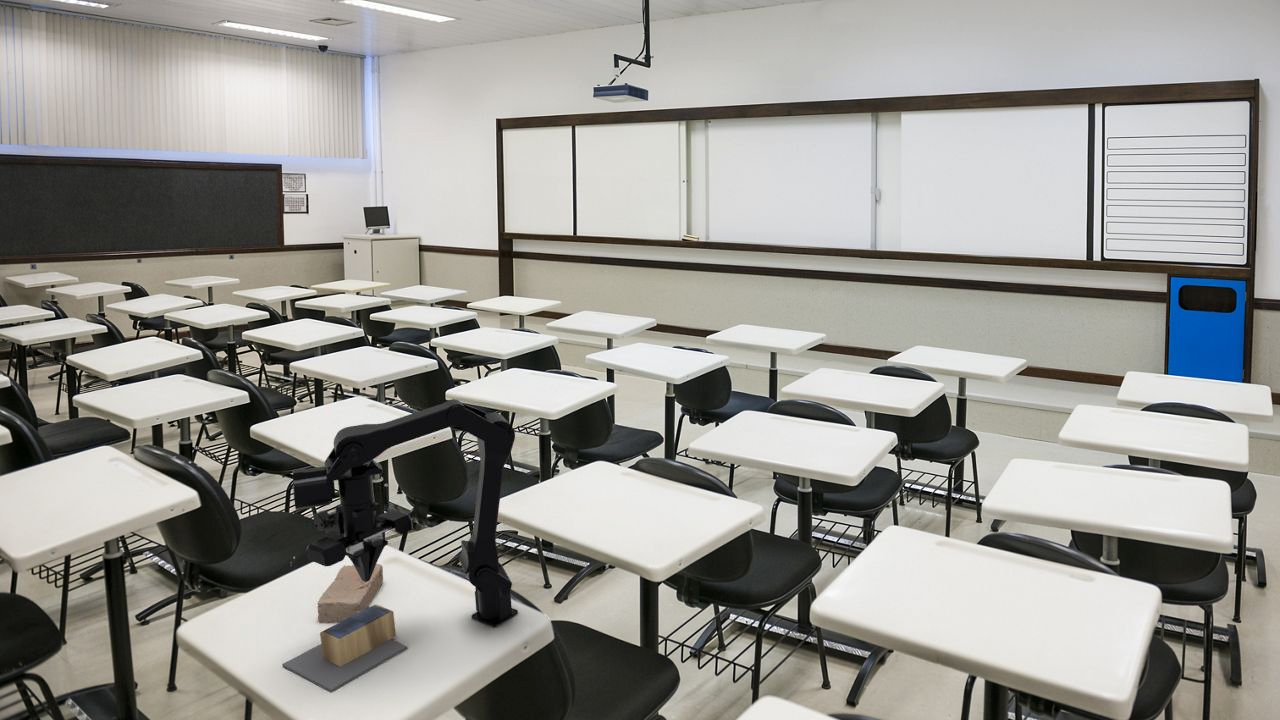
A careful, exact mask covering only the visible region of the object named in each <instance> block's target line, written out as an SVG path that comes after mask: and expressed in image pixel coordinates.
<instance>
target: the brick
mask: <svg viewBox="0 0 1280 720" xmlns="http://www.w3.org/2000/svg"><path fill="white" fill-rule="evenodd" d="M383 568H384V567H383V565H382V564H379V563H376V566H375V568H374V571H373V573H372V576H371V578H370V580H369V581H367V582H364V581H362V579H361V577H360V575H359V574H358V572H357V570H356V568H355V566H354V564H351V565H343V566H342V567H341V568H339V571H338V572H337V574H336V577H335V578H334V581H332V582H331V583H330V585H329V586H328V587H327V588H326V590H325V591H324V592H323V593H322V595H321V596H320V598H319V600H318V601H317V614H318V615H317V620H318V623H325V624H330V623H340V622H342V621H344V620H345V619H347V618H349V617H351V616H353V615H355V614H357V613H359V612H361V611H363V610H365V609H367V608H369V607H370V604H371V603H372V601H373V600H374V598H375V596H376V595H377V593H378V592H379V590H380V588H381V586H382V584H383V582H384V574H383V573H384V570H383Z"/></svg>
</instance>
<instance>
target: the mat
mask: <svg viewBox="0 0 1280 720" xmlns="http://www.w3.org/2000/svg"><path fill="white" fill-rule="evenodd" d="M407 649H408V646H407V645H406V644H404V643H401V642H399V641H397V640H394V639H393V638H392V639H390V640H388V641H386V642H385V643H383V644H381V645H379V646H377V647H376V648H374V649H372V650H370V651H368V652H367V653H365V654H363V655H361V656H359V657H358V658H356V659H354V660H352V661H350V662H349V663H347V664H345V665H343V666H341V667H340V666H338V665H336V664H334V663H332V662H330V661H328V660H326V659H324V658H323V653H322V645H321V643H320V644H317V645H316V646H314V647H312V648H311V649H308V650H306V651H304V652H302V653H301V654H299V655H296V656H295V657H293V658H290V660H287V661H286V662H283V663H282V664H281V665H282V667H283V668H284V669H286V670H288V671H290V672H292V673H294V674H296V675H298V676H299V677H302V678H303V679H305V680H307V681H309V682H311V683H313V684H315V685H316V686H319V687H321V688H322V689H324V690H326V691H327V692H330V693H333V692H335V691H337V690H338V689H340V688H342V687H344V686H345V685H347V684H349V683H350V682H352V681H354V680H356V679H357V678H359V677H361V676H362V675H365V674H366V673H368V672H369V671H371V670H373V669H375V668H377V667H378V666H380V665H381V664H384V663H385V662H387V661H388V660H390V659H392V658H393V657H396V656H397V655H399V654H401V653H402V652H404V651H406V650H407Z"/></svg>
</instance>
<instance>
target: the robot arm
mask: <svg viewBox="0 0 1280 720" xmlns="http://www.w3.org/2000/svg"><path fill="white" fill-rule="evenodd" d="M451 427H457V428H460V429H461V430H462V431H465V432H466V433H468V434H470V435H472V436H473V437H475V438H476V440H477V449H478V453H479V459H480V464H479V474H478V482H477V492H476V501H475V510H474V518H473V528H472V534H471V535H470V538H469V539H468V540H463V539H462V540H461V545H460V546H461V552H460V555H459V558H458V560H459V563H460V565H461V566H462V569H463V571H464V573H465V575H466V577H467V579H468V581H469V583H470V584H471V585H472V586H474V587H475V588H474V589H475V591H474V598H475V600H474V601H475V610H476V611H475V612H474V613H472V614H471V619H473V620H475V621H478V622H480V623H483V624H486V625H488V626H489V627H490V626H491V627H493V628H495V627H497V626H499V625H501V624H503V623H505V622H506V621H507V620H509V619H511V618H512V617H514V616H516V615H517V614H519V611H518V609H515V608H513V607H512V594H511V590H512V585H513V583H512V581H511V578H510V577H509V576H508V573H507V571H506V570H505V568H504V566H503V564H501V563H500V562H499V554H498V553H499V552H498V547H497V540H496V536H497V527H498V519H499V511H500V510H499V509H500V501H501V492H502V484H503V475H504V468H505V465H506V463H507V461H508V459H509V457H510V456H511V452H512V450H513V446H514V443H515V439H516V431H515V429H514V427H513V426H512V424H510V422H508V420H507V419H506V418H505V417H504V416H503V415H502V414H500V413H498V412H489V413H486V412H485V411H483V410H481V409H478V408H475V407H473V406H471V405H468V404H465V403H463V402H462V401H460V400H458V399H455V398H453V399H452V398H451V399H448V400H447V401H445V402H444V403H443V402H442V403H441V404H436V405H434V406H432V407H429V408H426V409H421V410H419V411H417V412H413V413H409V414H407V415H404V416H402V417H401V416H400V417H398V418H395V419H392V420H389V421H386V422H382V423H363V424H357V425H352V426H347V427H343V428H342V429H340V430H338V432H337V433H336V435H335V436H334V439H333V442H332V443H333V448H332V449H331V451H330V453H329V454H328V456H327V457H326V459H325V460H324V466H317V467H312V468H296V469H292V479H293V484H292V491H293V499H294V500H293V501H294V507H295V508H294V509H295V510H304V509H311V508H315V507H323V506H328V505H329V506H330V505H331V504H330V503H332V502H333V499H336V488H335V487H336V486H335V481H337V484H338V494H339V501H340V504H338V505H336V507H335V510H333V511H332V512H328V510H322V511H319V512H316V513H314V514H313V523H314V527H315V530H316V531H318V532H320V531H325V533H327V534H329V533H330V532H332V531H335V534H336V535H339V536H341V535H343V537H342V538H339V539H337V540H336V539H333V538H331V537H328V536H325V537H322V538H321V539H318V540H316V541H313V542H311V543H309V544H308V546H307V547H306V559H307V561H308V560H309V561H311V562H314V563H316V564H318V565H320V566H323V567H330V566H331V567H332V566H334V565H336V564H337V563H340V562H343V561H344V560H345V558H346V556H347V557H348V558H349V560H350V561H351V563H352V565H354V566H355V568H356V570H357V572H358V574H359V575H360V577H361V579H362V581H364V582H367V581H369V580H370V578H371V576H372V573H373V571H374V568H375V566H376V564H378V561H379V558H380V556H381V555H382V552H383V550H384V549H385V547H386V546H388V545H389V541H388V540H386V539H384V537H383V533H385V532H388V531H390V530H392V529H394V531H395V532H396V533H397V534H399V535H403V534H405V533H408V532H410V531H413V519H412V518H411V516H409V514H407V513H404V512H400V511H398V510H395V509H391V510H388V511H385V512H384V513H381V514H378V515H377V511H379V510H380V509H381V506H380V503H379V502H375V493H374V483H373V476H374V475H380V474H383V473H384V470H383V467H382V465H381V464H380V463H379V462H377V461H375V460H374V459H376V458H378V457H379V456H380V455H382V454H383V453H385V452H386V451H387V450H389V449H391V448H394V447H395V446H398V445H402V444H404V443H407V442H410V441H414V440H415V439H419V438H422V437H424V436H427V435H431V434H433V433H437V432H440V431H443V430H445V429H448V428H451Z"/></svg>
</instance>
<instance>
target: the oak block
mask: <svg viewBox="0 0 1280 720" xmlns="http://www.w3.org/2000/svg"><path fill="white" fill-rule="evenodd" d="M394 613H395V612H394V611H393V610H391V609H388V608H386V607H384V606H382V605H379V604H376V603H375V604H373V605H372V606H368V608H367V609H365V610H363V611H361V612H359V613H357V614H355V615H353V616H351V617H349V618H347V619H345V620H344V621H342V622H337V623H335V624H333V625H332V626H330V627H327V628H326V629H324V630H322V631H320V632H319V635H320V644H321V645H322V653H323V658H324V659H326V660H328V661H330V662H332V663H334V664H336V665H338V666H340V667H341V666H343V665H345V664H347V663H349V662H350V661H352V660H354V659H356V658H358V657H359V656H361V655H363V654H365V653H367V652H368V651H370V650H372V649H374V648H376V647H377V646H379V645H381V644H383V643H385V642H386V641H388V640H390V639H392V640H393V638H395V637H397V634H396V633H397V632H396V623H395V614H394Z"/></svg>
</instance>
